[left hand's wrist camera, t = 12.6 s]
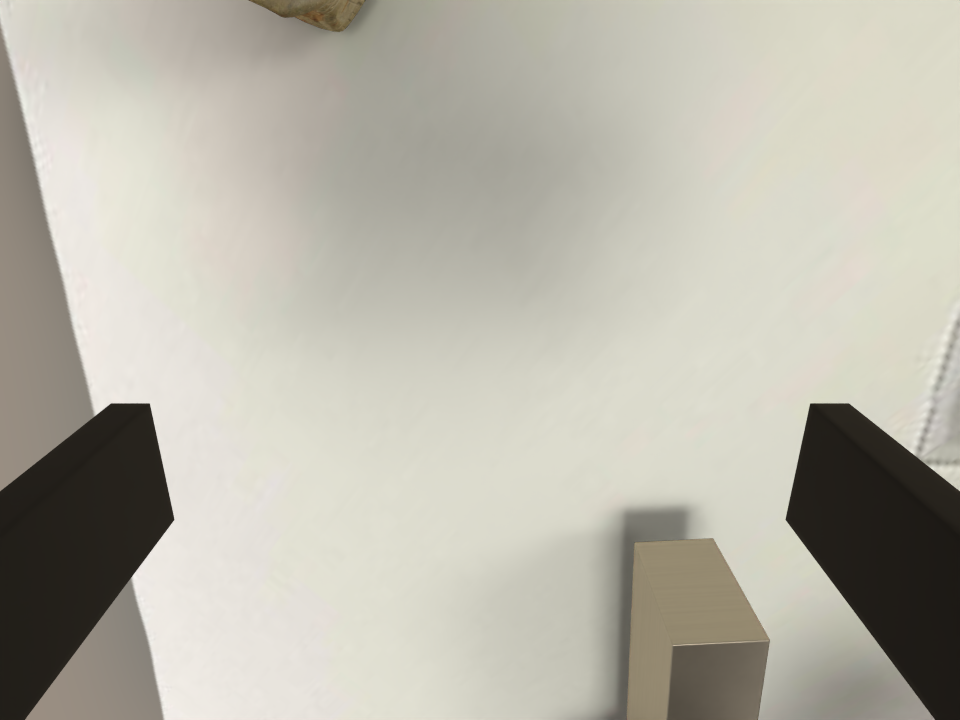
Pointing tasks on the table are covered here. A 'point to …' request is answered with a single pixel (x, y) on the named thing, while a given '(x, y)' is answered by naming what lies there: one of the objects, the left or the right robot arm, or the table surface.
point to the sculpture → (316, 11)
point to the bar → (692, 636)
